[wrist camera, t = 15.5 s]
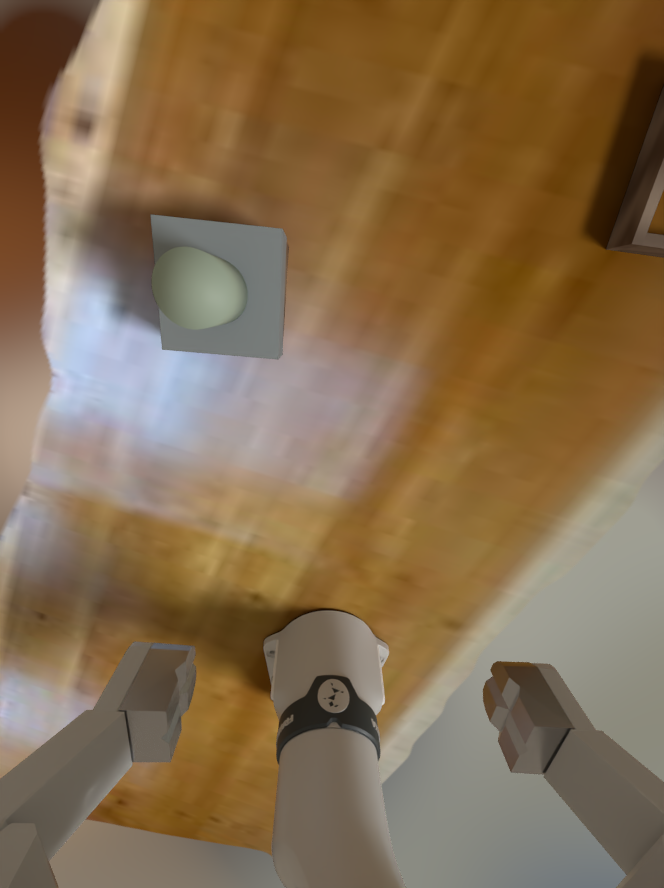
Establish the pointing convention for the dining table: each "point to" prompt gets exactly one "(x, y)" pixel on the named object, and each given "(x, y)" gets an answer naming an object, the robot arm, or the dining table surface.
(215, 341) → the grey slab
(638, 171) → the wooden frame
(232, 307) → the sage green rounded oval
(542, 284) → the dining table surface
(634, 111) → the dining table surface
